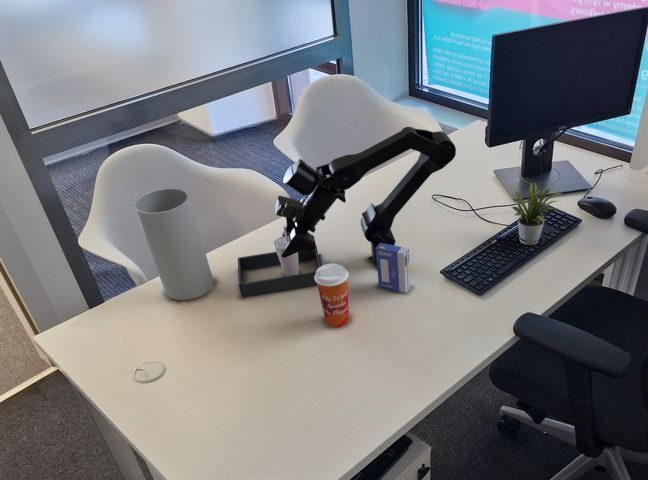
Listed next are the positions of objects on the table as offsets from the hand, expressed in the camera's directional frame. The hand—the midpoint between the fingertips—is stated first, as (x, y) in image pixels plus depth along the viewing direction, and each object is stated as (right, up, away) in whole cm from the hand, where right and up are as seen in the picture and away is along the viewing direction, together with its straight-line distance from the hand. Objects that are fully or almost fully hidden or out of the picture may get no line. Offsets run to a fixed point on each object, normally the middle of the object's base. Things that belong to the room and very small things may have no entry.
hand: (281, 250), depth 158 cm
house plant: (+67, +4, +13) cm, 69 cm away
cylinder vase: (-25, -9, +3) cm, 27 cm away
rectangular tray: (-1, -6, +5) cm, 8 cm away
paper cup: (+15, -19, -10) cm, 26 cm away
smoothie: (+2, -6, +5) cm, 8 cm away
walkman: (+29, -10, -1) cm, 31 cm away
